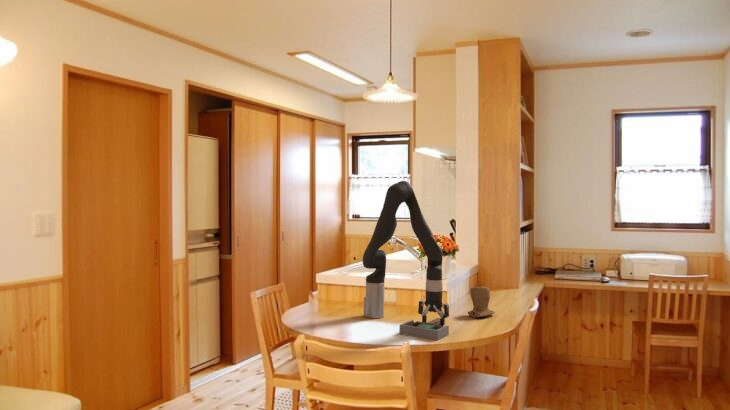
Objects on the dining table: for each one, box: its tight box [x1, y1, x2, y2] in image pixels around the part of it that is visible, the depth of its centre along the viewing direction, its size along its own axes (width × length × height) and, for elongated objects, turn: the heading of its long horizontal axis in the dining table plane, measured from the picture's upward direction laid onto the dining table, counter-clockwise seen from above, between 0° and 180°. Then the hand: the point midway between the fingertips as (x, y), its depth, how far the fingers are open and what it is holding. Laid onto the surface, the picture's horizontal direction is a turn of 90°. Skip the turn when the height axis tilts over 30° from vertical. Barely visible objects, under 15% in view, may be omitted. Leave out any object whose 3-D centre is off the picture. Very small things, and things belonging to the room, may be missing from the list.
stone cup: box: [467, 286, 496, 318], centre depth 291 cm, size 15×12×15 cm
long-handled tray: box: [413, 317, 442, 330], centre depth 258 cm, size 12×16×4 cm
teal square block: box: [417, 324, 435, 330], centre depth 251 cm, size 6×6×4 cm
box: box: [398, 319, 450, 341], centre depth 251 cm, size 18×11×4 cm, turn 58°
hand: (433, 325), depth 258 cm, fingers open, 8 cm apart
